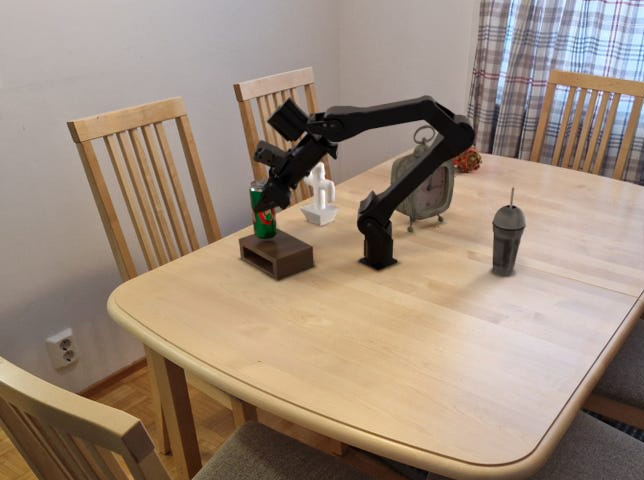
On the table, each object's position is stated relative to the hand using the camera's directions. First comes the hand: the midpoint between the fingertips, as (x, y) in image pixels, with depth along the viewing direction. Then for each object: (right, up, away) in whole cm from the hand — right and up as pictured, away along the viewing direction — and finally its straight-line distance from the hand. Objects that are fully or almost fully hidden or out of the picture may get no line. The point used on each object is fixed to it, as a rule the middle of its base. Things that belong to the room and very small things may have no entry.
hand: (256, 207), depth 140 cm
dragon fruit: (+51, +27, +63) cm, 86 cm away
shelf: (+3, -11, +6) cm, 13 cm away
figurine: (+11, +2, +26) cm, 29 cm away
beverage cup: (+55, -13, +7) cm, 57 cm away
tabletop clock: (+36, +2, +27) cm, 45 cm away
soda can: (+1, -6, +4) cm, 7 cm away
